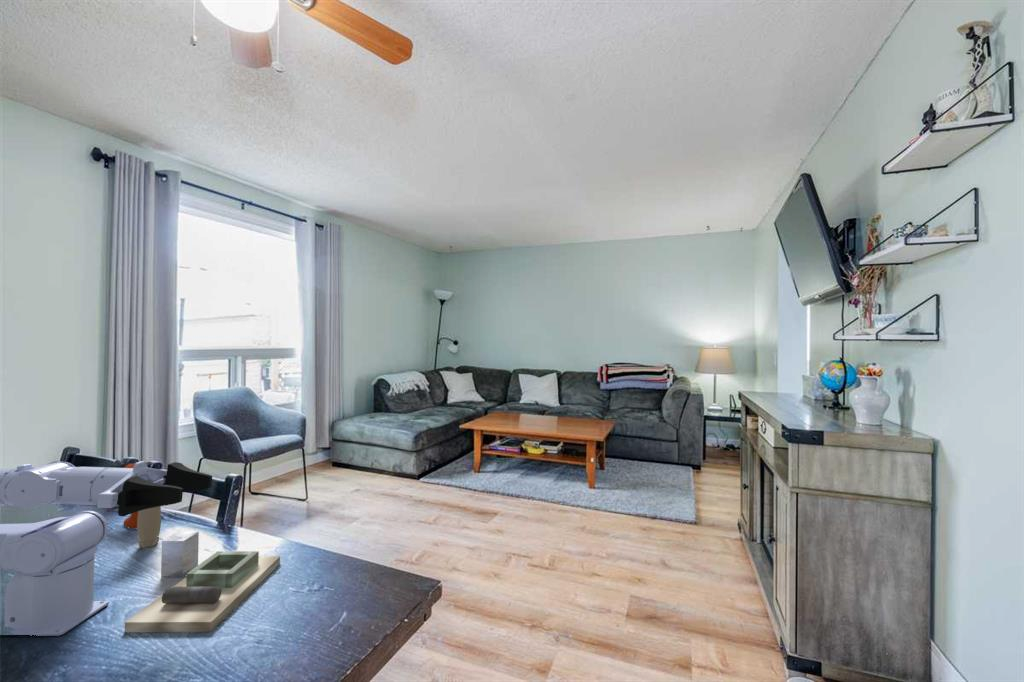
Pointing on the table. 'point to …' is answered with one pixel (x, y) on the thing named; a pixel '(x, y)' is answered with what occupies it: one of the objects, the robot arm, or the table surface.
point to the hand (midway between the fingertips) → (196, 488)
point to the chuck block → (205, 594)
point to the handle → (149, 526)
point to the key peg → (179, 554)
